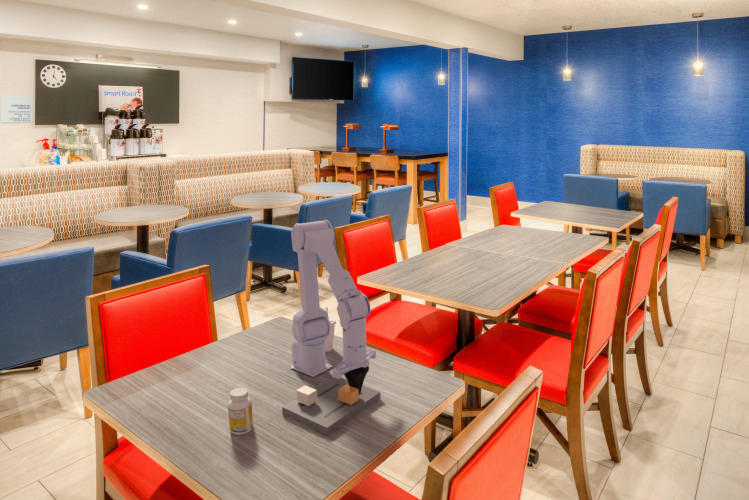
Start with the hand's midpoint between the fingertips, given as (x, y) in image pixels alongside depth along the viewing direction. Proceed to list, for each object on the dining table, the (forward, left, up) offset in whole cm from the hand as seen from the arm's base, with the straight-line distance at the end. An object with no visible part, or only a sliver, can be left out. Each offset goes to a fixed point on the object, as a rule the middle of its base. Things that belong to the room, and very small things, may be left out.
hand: (356, 393), depth 132 cm
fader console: (-4, -4, -3) cm, 7 cm away
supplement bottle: (-15, -24, -3) cm, 29 cm away
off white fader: (-8, -9, -1) cm, 12 cm away
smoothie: (-29, +20, -3) cm, 35 cm away
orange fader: (0, -3, -1) cm, 3 cm away
